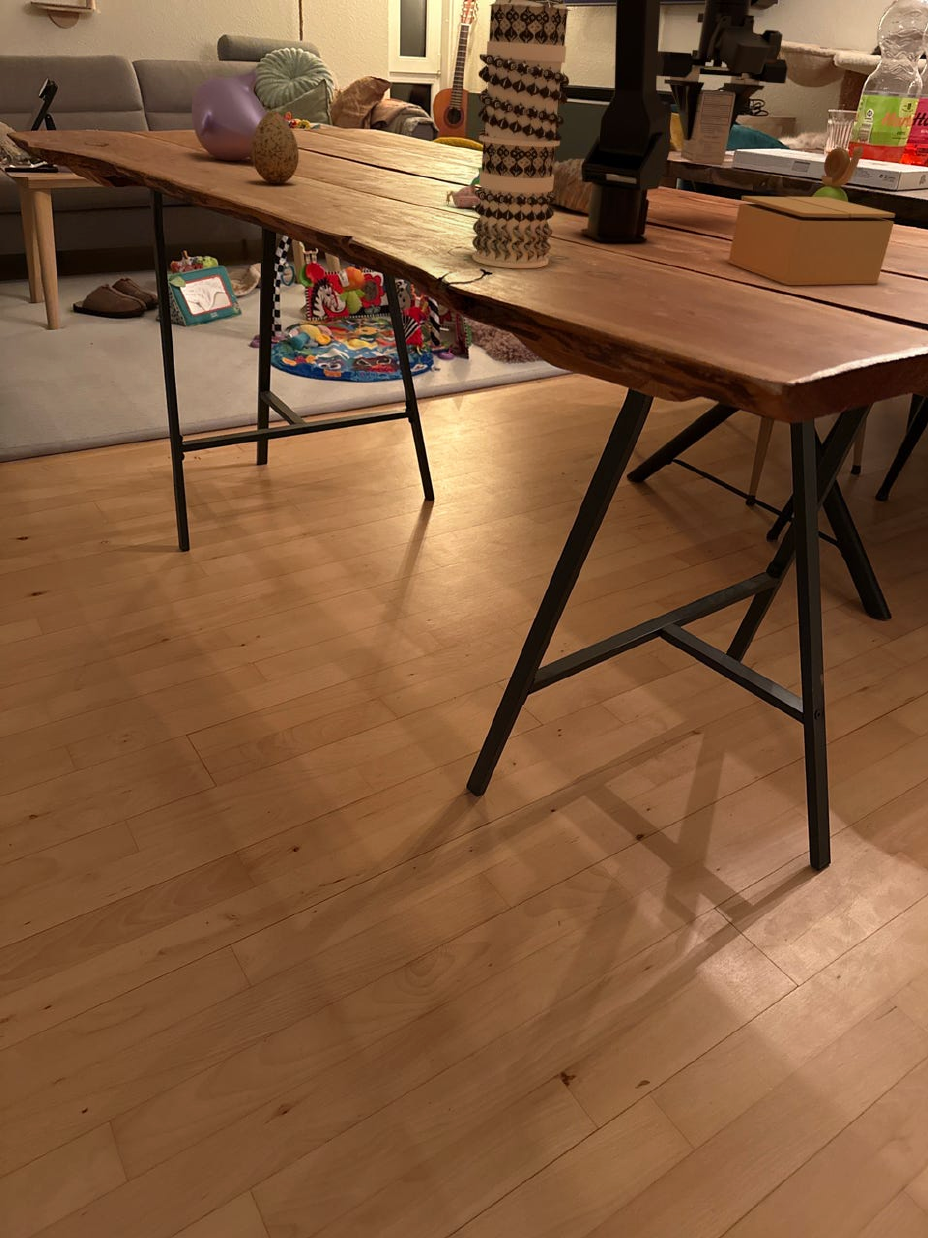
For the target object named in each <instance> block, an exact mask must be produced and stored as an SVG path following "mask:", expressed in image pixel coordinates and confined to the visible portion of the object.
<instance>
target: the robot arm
mask: <svg viewBox="0 0 928 1238" xmlns="http://www.w3.org/2000/svg"><path fill="white" fill-rule="evenodd" d="M615 1H616V3H615V45H614V49H615V50H614V91H613V96H612V97H611V99H610V101H609V103H608V104H607V106H606V108H605V110H604V112H603V114H602V115H601V118H600V123H599V125H600V126H599V133H598V136H597V138H596V139H595V141H594V143H593V145H592V146H591V148H590V149H589V151H588V153H587V154H586V156H585V158H584V159H585V160H584V162H583V163H582V166H581V170H582V182H585V183H588V182H591V183H592V191H591V200H590V208H589V214H588V218H587V227H586V228H581V230H580V233H581V234H583V235H584V236H587V237H589V238H592V239H594V240H596V241H599V242H602V243H603V242H604V243H634V242H635V243H638V242H639V243H642V242H643V243H645V242H647V241H648V237H647V236H644V235H645V234H646V226H647V221H648V212H649V205H650V200H649V199H648V191H650V190H657V189H659V187H660V184H661V181H662V178H663V174H664V171H665V168H666V165H667V161H668V159H669V155H670V151H671V139H672V134H671V123H672V122H671V121H672V112H673V109H672V105H671V103H670V102H669V101H663V100H662V98H661V96H660V94H659V92H658V90H657V83H658V82H657V81H658V80H657V79H658V77H667V79H666V78H664V81H663V82H664V85H669V88H670V90H671V94H672V97H673V99H674V102H675V106H676V109H677V114H678V118H679V123H680V126H681V127H680V128H681V132H682V135H683V136H684V139H685V140H690V139H691V135H692V131H693V126H694V119H695V112H696V105H697V98H698V95H699V93H700V91H701V89H703V87H704V85H705V82H703V81H700V80H699V79H700V75H703V76H704V75H705V76H721V77H730V81H729V82H723V88H722V91H728V92H734V93H735V100H734V106H733V112H732V118H731V123H730V129H729V134H730V133H731V131H732V129H733V127H734V125H735V123H736V121H737V118H738V117H739V115H740V113H741V112H742V110H743V108H744V106H745V105H746V103H747V102H748V100H749V99H750V98H751V97H752V96H753V95H754V94H756V92H757V91H763V90H764V88H765V87H766V86H765V85H761V84H760V82H761V83H767V84H786V82H787V78H788V72H789V69H788V65H787V62H786V59H782V58H779V56H780V53H781V51H782V50H781V49H782V42H783V33H781V32H780V31H779V30H776V29H765V30H764V31H763V33H756V32H755V31H754V26H755V19H754V18H755V15H751V14H750V10H756V11H764V10H767V9H768V10H769V9H770V8H771V7H773V6H774V5H775V4H776V3H777V2H778V1H779V0H705V4H704V8H703V12H702V13H701V12H698V13H697V19H696V20H697V21H696V23H700V24H701V26H700V34H699V40H698V46H697V49H692V50H691V51H692V53H691V52H678V51H665V50H664V51H663V50H659V42H660V41H659V39H660V17H661V0H615ZM707 63H712V65H706V64H707ZM723 64H724V65H725V66H723ZM668 78H669V79H668ZM607 174H611V175H618V176H619V177H618V176H611V175H607Z"/></svg>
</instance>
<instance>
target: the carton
mask: <svg viewBox="0 0 928 1238" xmlns="http://www.w3.org/2000/svg"><path fill="white" fill-rule="evenodd" d="M785 197H786V198H790V199H794V200H798V201H802V202H805V203H809V204H813V205H817V206H821V207H825V208H829V209H833V210H837V211H840V212H844V213H848V214H849V218H831V217H801V216H798V215H794V214H791V213H787V212H783V211H780V210H776V209H773V208H769V207H766V206H762V205H758V204H755V203H739V205H738V209H737V215H736V221H735V225H734V231H733V235H732V242H731V246H730V251H729V255H728V264H731V265H733V266H736V267H739V268H741V269H744V270H747V271H749V272H752V273H754V274H757V275H759V276H762V277H765V278H768V279H769V280H772V281H775V282H777V283H780V284H782V285H785V286H816V285H817V286H819V285H821V286H823V285H877V284H878V282H879V279H880V275H881V271H882V267H883V263H884V260H885V256H886V254H887V249H888V245H889V242H890V239H891V236H892V231H893V227H894V224H895V221H893V220H888V218H889V219H890V218H891V219H893V218H895V217H896V213H894V212H890V211H887V210H882V209H878V208H874V207H870V206H866V205H862V204H858V203H857V204H856V203H853V202H849V201H848V202H845V201H841V200H837V199H833V198H828V197H812V196H785ZM884 218H885V219H884ZM886 218H887V219H886Z"/></svg>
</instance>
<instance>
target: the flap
mask: <svg viewBox="0 0 928 1238" xmlns="http://www.w3.org/2000/svg"><path fill="white" fill-rule="evenodd" d="M786 197H787V196H762V195H761V196H760V195H756V196H755V195H741V201H744V202H748V203H750V204H758V205H762V206H766V207H769V208H773V209H776V210H780V211H783V212H787V213H791V214H794V215H798V216H801V217H831V218H849V214H848V213H844V212H840V211H837V210H833V209H829V208H825V207H821V206H817V205H813V204H809V203H805V202H802V201H798V200H794V199H790V198H786Z"/></svg>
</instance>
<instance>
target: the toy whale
mask: <svg viewBox="0 0 928 1238" xmlns="http://www.w3.org/2000/svg"><path fill="white" fill-rule="evenodd" d="M258 75H259V73H258V70H251V71H249V72H246V73H243V74H242V73H241V74H238V75H236V76H233V77H225V76H223V77H222V76H220V77H219V76H218V77H213V78H209V79H206V80H204V81H203V82H201V83H200V84H199V85H198V86H197V87H196V89H195V90H194V93H193V96H192V101H191V103H192V104H191V118H192V124H193V129H194V132H195V135H196V137H197V140H198V142H199V143H200V145H201V146H202V148H203V149H204V150H205V151H206V152H207V153H208V154H210V156H212V157H214V158H216V159H217V160H218V159H219V160H221V161H227V162H229V161H241V160H244V159H248V158H249V159H250V160H252V155H251V145H252V139H253V135H254V132H255V130H256V128H257V126H258V124H259V122H260V121H261V120H262V118H263V117H264V116H265V115H266V114H267V111H266V109H265V107H264V106H263V104H262V103H261V101H260V100H259V98H258V96H257V95H256V94H255V92H254V91H255V85H256V83H257V81H258V77H259V76H258ZM284 120H285V121H286V122H287V124H288V125H289V120H288V119H287V118H284Z"/></svg>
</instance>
